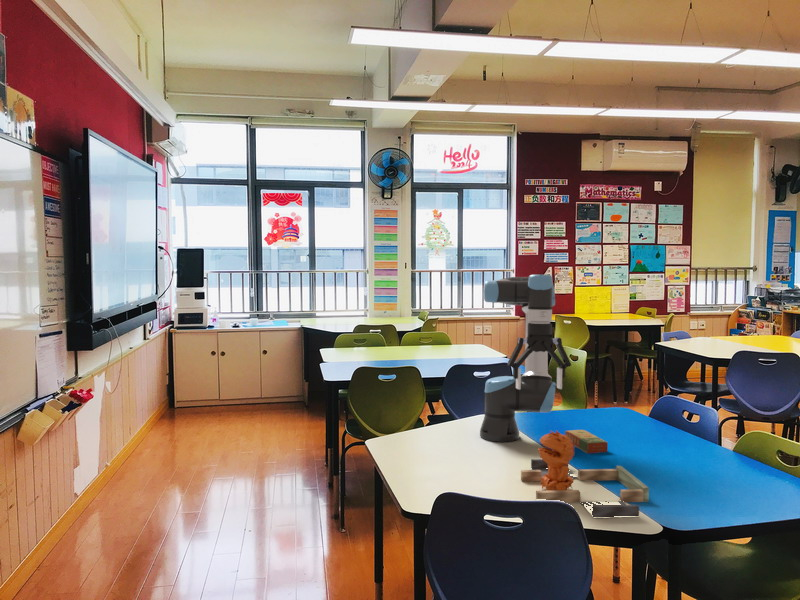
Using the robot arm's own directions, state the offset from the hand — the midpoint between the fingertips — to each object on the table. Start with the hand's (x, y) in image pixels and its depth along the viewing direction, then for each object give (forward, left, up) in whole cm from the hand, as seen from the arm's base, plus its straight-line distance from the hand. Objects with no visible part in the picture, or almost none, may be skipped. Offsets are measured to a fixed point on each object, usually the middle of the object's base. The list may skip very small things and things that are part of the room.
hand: (538, 388), depth 181 cm
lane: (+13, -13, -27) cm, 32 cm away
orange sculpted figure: (+6, -15, -27) cm, 32 cm away
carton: (+15, +33, -27) cm, 45 cm away
